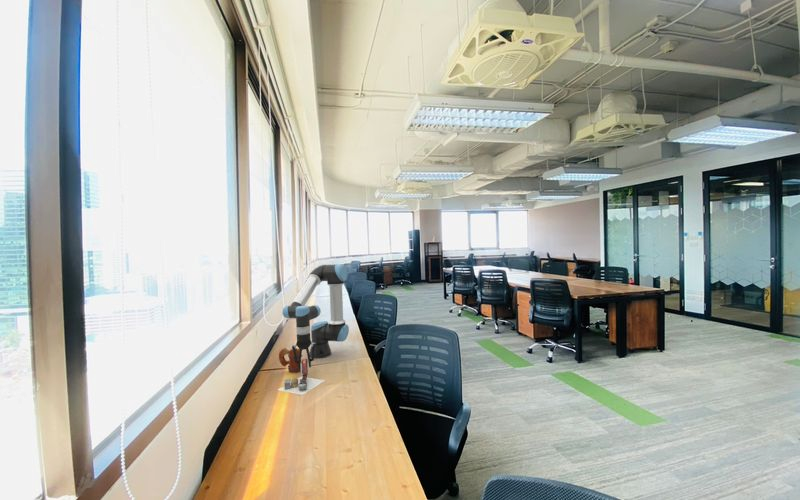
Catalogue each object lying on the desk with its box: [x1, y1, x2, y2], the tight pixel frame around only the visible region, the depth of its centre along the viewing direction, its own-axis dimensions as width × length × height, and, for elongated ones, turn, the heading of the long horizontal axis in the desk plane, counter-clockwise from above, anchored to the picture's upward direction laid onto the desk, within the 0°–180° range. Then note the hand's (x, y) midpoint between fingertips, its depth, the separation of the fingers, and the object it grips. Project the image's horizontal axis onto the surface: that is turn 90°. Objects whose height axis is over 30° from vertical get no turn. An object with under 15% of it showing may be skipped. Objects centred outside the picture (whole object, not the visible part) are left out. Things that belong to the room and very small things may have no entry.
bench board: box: [277, 375, 326, 396], centre depth 179 cm, size 19×17×2 cm
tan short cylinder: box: [291, 378, 298, 388], centre depth 177 cm, size 4×4×4 cm
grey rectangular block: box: [283, 378, 292, 390], centre depth 176 cm, size 5×3×4 cm, turn 17°
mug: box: [278, 347, 303, 374], centre depth 200 cm, size 15×8×15 cm, turn 84°
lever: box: [299, 358, 309, 390], centre depth 179 cm, size 18×4×10 cm, turn 12°
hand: (305, 373), depth 186 cm, fingers closed on lever, 3 cm apart
